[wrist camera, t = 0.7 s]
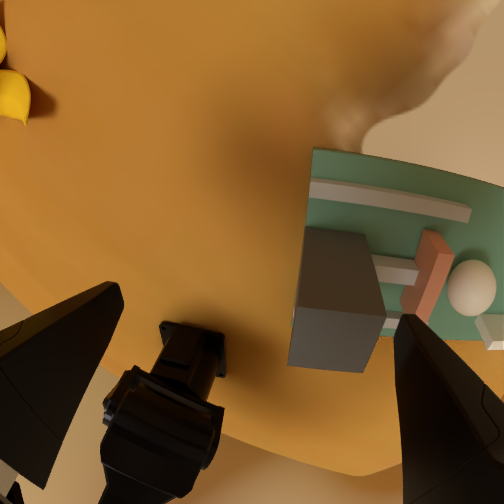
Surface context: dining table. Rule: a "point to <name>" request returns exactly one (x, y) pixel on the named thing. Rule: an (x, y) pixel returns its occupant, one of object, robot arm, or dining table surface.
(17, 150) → the dining table surface
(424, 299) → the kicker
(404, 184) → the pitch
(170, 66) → the dining table surface
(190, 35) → the dining table surface
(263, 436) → the dining table surface
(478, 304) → the ball
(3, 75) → the banana peel
